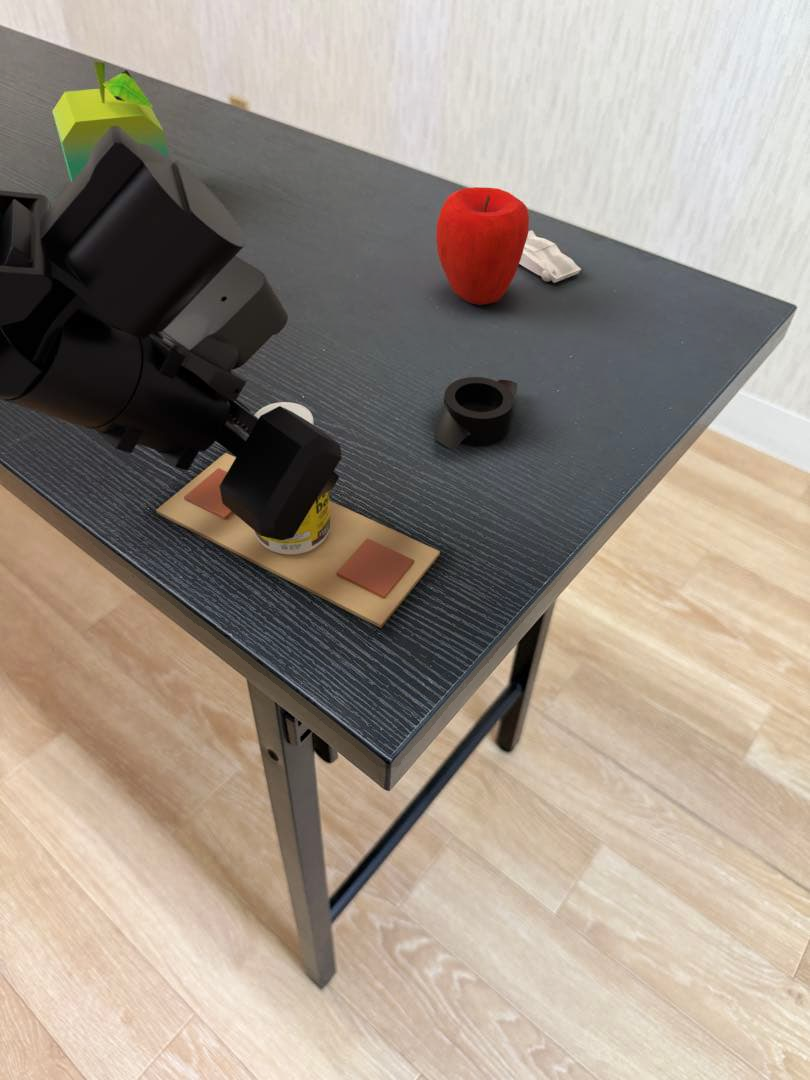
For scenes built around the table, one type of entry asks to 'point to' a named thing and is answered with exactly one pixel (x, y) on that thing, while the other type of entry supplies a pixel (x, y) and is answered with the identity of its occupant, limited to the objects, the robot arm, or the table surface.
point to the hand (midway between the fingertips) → (288, 448)
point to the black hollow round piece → (475, 412)
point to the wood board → (329, 569)
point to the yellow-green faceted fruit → (104, 118)
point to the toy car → (546, 259)
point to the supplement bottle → (316, 519)
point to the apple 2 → (481, 242)
